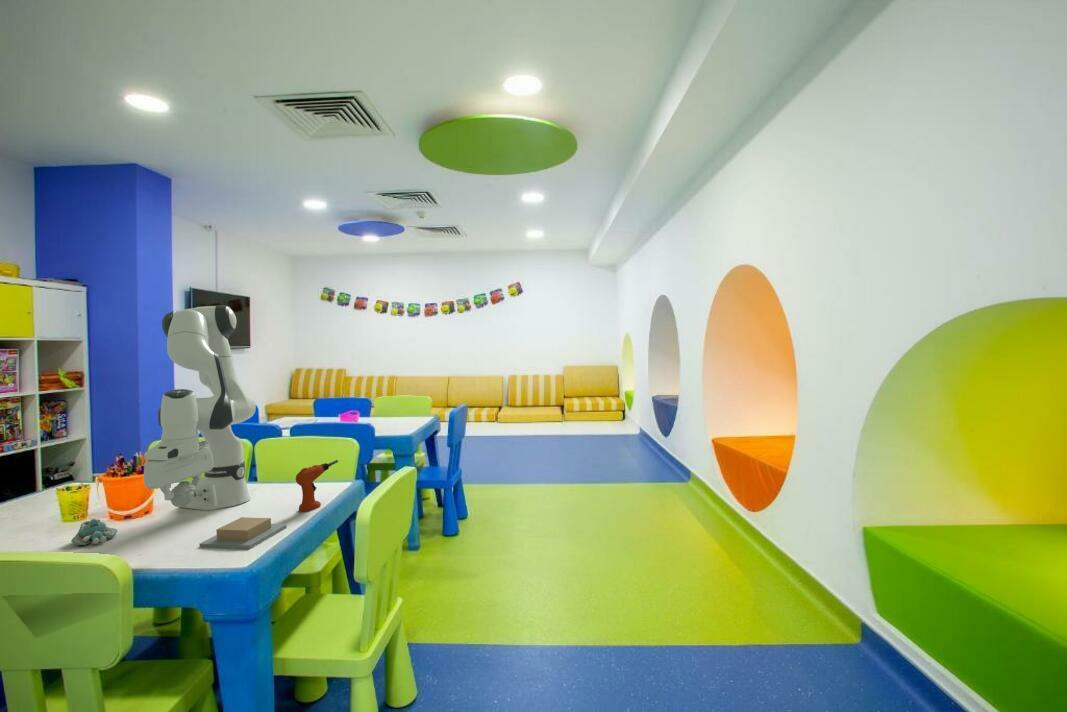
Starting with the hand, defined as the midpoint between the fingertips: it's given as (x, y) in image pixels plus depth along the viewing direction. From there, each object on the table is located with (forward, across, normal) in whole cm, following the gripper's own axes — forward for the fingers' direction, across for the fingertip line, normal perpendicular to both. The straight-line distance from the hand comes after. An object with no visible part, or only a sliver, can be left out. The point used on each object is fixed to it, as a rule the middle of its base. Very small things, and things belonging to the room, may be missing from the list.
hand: (181, 494), depth 145 cm
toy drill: (+14, -38, +19) cm, 45 cm away
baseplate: (+14, -8, +14) cm, 21 cm away
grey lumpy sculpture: (+4, 0, 0) cm, 4 cm away
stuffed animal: (+16, -1, -31) cm, 35 cm away
